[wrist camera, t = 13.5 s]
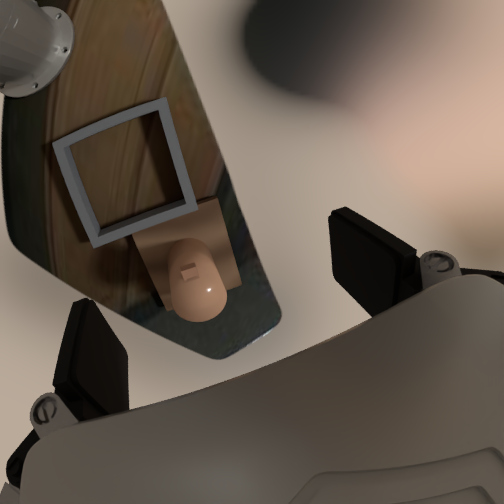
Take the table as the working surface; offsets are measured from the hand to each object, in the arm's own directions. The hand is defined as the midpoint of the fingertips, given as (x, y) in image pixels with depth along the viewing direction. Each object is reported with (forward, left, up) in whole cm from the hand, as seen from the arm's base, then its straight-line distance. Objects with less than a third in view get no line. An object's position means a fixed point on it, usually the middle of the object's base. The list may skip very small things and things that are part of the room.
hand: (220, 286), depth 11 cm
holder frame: (-1, -6, -28) cm, 29 cm away
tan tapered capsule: (+13, -2, -27) cm, 30 cm away
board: (+13, -2, -28) cm, 31 cm away
